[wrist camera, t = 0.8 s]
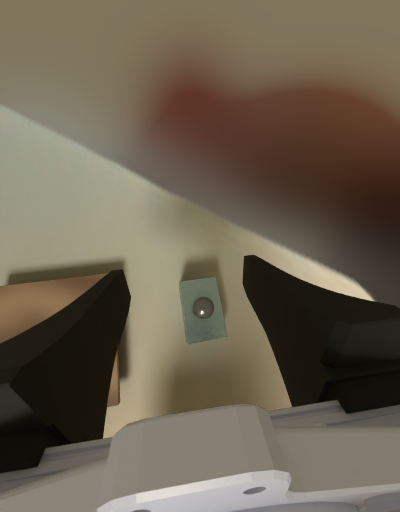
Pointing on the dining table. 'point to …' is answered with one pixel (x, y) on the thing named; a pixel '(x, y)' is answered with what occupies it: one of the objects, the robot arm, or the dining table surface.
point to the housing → (202, 310)
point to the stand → (46, 311)
